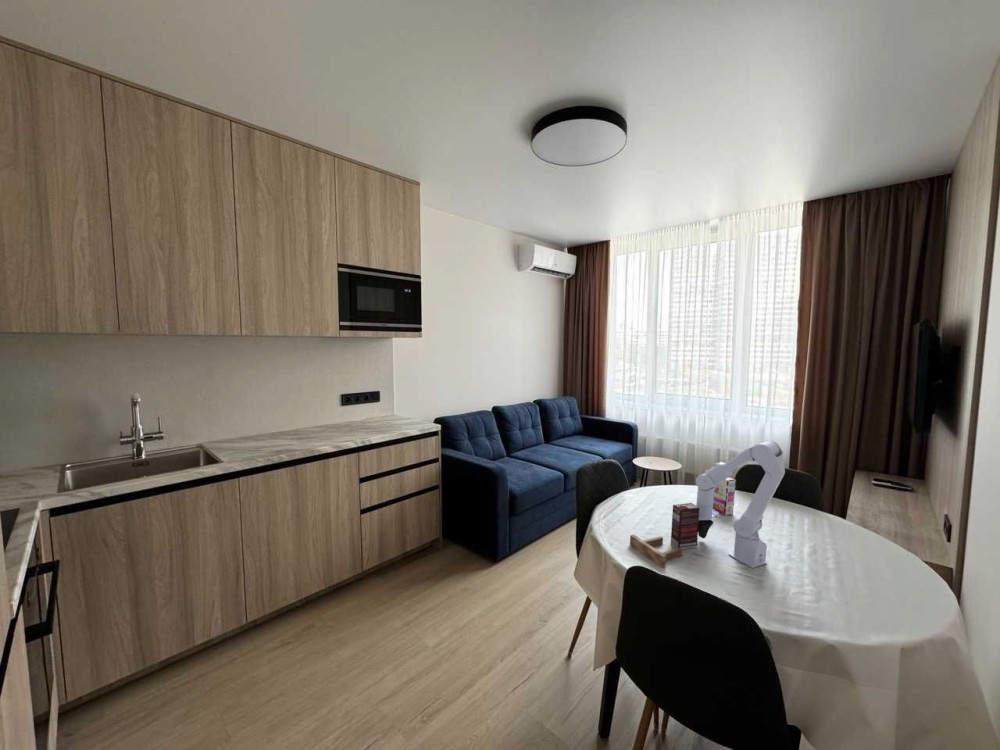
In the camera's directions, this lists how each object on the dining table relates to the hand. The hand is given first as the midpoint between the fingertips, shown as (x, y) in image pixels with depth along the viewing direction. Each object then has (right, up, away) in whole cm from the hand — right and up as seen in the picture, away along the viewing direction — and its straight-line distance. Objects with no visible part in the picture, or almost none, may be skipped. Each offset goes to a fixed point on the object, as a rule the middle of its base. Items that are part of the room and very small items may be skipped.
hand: (702, 537), depth 161 cm
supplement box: (-9, -2, -4) cm, 10 cm away
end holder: (-20, -2, -9) cm, 22 cm away
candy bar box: (+22, +1, +29) cm, 36 cm away
